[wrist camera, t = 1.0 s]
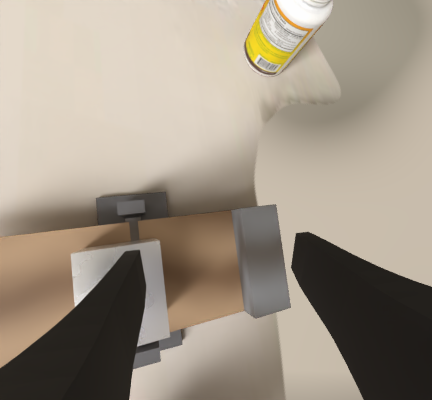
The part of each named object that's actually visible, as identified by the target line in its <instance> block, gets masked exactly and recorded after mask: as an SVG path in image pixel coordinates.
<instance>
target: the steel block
mask: <svg viewBox="0 0 432 400" xmlns="http://www.w3.org/2000/svg"><path fill="white" fill-rule="evenodd" d="M131 250H140V253H141V259H142V264H143V270H144V275H145V281H146V299H145V309H144V314H143V319H142V324H141V329H140V334H139V339H138V344H137V346H141V345H144V344H148V343H151V342H155V341H158V340H162V339H165V338H169V337H170V331H169V322H168V313H167V303H166V294H165V285H164V275H163V266H162V257H161V247H160V240H158V239H156V238H151V239H144V240H137V241H130V242H123V243H116V244H109V245H102V246H95V247H88V248H83V249H81V250H79V251H76V252H74V253H71V265H72V277H73V290H74V302H75V307H76V306H77V305H78V304H79V303H80V302H81V301H82V300H83V299H84V297H85V296H86V295H87V294H88V293H89V292H90V291H91V290H92V289H93V288H94V287H95V286H96V285H97V284H98V282H99V281H100V280H101V279H102V278H103V277H104V276H105V275H106V273H107V272H108V271H109V270H110V269H111V267H112V266H113V265H114V264H115V263H116V261H117V260H118V259H119V258H120V257H121V255H122V254H123V253H124V252H125V251H131Z"/></svg>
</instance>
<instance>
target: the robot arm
mask: <svg viewBox="0 0 432 400" xmlns="http://www.w3.org/2000/svg"><path fill="white" fill-rule="evenodd" d="M291 268H292V271H293V273H294V274H295V277H296V279H297V281H298V283H299V285H300V287H301V289H302V290H303V292H304V294H305V295H306V297H307V298H308V300H309V302H310V303H311V305H312V306H313V308H314V309H315V311H316V312H317V314H318V315H319V317H320V318H321V320H322V321H323V323H324V324H325V326H326V328H327V329H328V331H329V333H330V334H331V336H332V338H333V339H334V341H335V343H336V345H337V347H338V349H339V351H340V352H341V354H342V356H343V358H344V360H345V362H346V364H347V366H348V368H349V370H350V372H351V374H352V376H353V378H354V380H355V382H356V384H357V386H358V388H359V390H360V393H361V395H362V397H363V399H364V400H432V287H431V286H428V285H424V284H422V283H419V282H416V281H413V280H410V279H408V278H405V277H403V276H400V275H397V274H395V273H393V272H390V271H388V270H385V269H383V268H381V267H378V266H376V265H374V264H372V263H370V262H368V261H365V260H363V259H361V258H359V257H357V256H355V255H353V254H351V253H349V252H347V251H345V250H343V249H341V248H339V247H337V246H336V245H334V244H332V243H330V242H328V241H326V240H324V239H322V238H320V237H318V236H316V235H314V234H312V233H309V232H303V233H296V237H295V244H294V251H293V258H292V265H291ZM145 299H146V281H145V275H144V270H143V264H142V259H141V253H140V250H131V251H125V252H124V253H123V254H122V255H121V257H120V258H119V259H118V260H117V261H116V263H115V264H114V265H113V266H112V267H111V269H110V270H109V271H108V272H107V273H106V275H105V276H104V277H103V278H102V279H101V280H100V281H99V282H98V284H97V285H96V286H95V287H94V288H93V289H92V290H91V291H90V292H89V293H88V294H87V295H86V296H85V297H84V299H83V300H82V301H81V302H80V303H79V304H78V305H77V306H76V307H75V308H74V309H73V310H71V311H70V312H69V313H68V314H67V315H66V316H65V317H64V318H63V319H62V320H60V321H59V322H58V323H57V324H56V325H55V326H54V327H52V328H51V329H50V330H49V331H48V332H46V333H45V334H44V335H43V336H41V337H40V338H39V339H38V340H36V341H35V342H34V343H33V344H31V345H30V346H29V347H28V348H26V349H25V350H24V351H23V352H21V353H20V354H19V355H17V356H16V357H15V358H13V359H12V360H11V361H9V362H8V363H7V364H5V365H4V366H2V367H1V368H0V400H129V396H130V387H131V378H132V371H133V365H134V359H135V354H136V349H137V344H138V339H139V334H140V329H141V324H142V319H143V314H144V309H145Z"/></svg>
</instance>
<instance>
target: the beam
mask: <svg viewBox="0 0 432 400" xmlns="http://www.w3.org/2000/svg"><path fill="white" fill-rule="evenodd" d="M151 238H156V239H158V240H160V247H161V257H162V266H163V275H164V285H165V294H166V303H167V313H168V322H169V331H170V332H173V331H176V330H180V329H183V328H187V327H190V326H193V325H197V324H200V323H204V322H207V321H211V320H214V319H217V318H221V317H224V316H228V315H231V314H235V313H238V312H241V311H246V312H247V313H248V314H250V315H251V316H253V317H254V318H259V317H262V316H266V315H269V314H272V313H275V312H279V311H282V310H285V309H288V308H291V305H290V298H289V291H288V285H287V278H286V271H285V263H284V257H283V250H282V243H281V236H280V229H279V222H278V215H277V208H276V205H266V206H257V207H249V208H240V209H235V210H228V211H219V212H211V213H202V214H194V215H185V216H177V217H168V218H160V219H151V220H143V221H141V217H135V218H127V219H125V223H117V224H108V225H100V226H91V227H83V228H74V229H66V230H57V231H49V232H40V233H32V234H23V235H14V236H6V237H0V368H1V367H2V366H4V365H5V364H7V363H8V362H9V361H11V360H12V359H13V358H15V357H16V356H17V355H19V354H20V353H21V352H23V351H24V350H25V349H26V348H28V347H29V346H30V345H31V344H33V343H34V342H35V341H36V340H38V339H39V338H40V337H41V336H43V335H44V334H45V333H46V332H48V331H49V330H50V329H51V328H52V327H54V326H55V325H56V324H57V323H58V322H59V321H60V320H62V319H63V318H64V317H65V316H66V315H67V314H68V313H69V312H70V311H71V310H73V309H74V308H75V302H74V290H73V277H72V265H71V253H74V252H76V251H79V250H81V249H83V248H88V247H95V246H102V245H109V244H116V243H123V242H130V241H137V240H144V239H151ZM144 345H145V344H144Z"/></svg>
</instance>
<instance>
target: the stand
mask: <svg viewBox="0 0 432 400" xmlns="http://www.w3.org/2000/svg"><path fill="white" fill-rule="evenodd" d="M96 204H97V215H98V226H100V225H108V224H117V223H125V219H127V218H135V217H141V221H143V220H151V219H160V218H168V210H167V201H166V192H159V193H147V194H136V195H125V196H113V197H102V198H96ZM179 345H182V336H181V329H180V330H176V331H173V332H170V337H169V338H165V339H162V340H158V341H155V342H151V343H148V344H145V345H141V346H137V349H136V354H135V359H134V365H133V369H136V368H139V367H143V366H146V365H150V364H153V363H157V362H160V361H161V359H160V351H161V350H165V349H168V348H172V347H176V346H179Z"/></svg>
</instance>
